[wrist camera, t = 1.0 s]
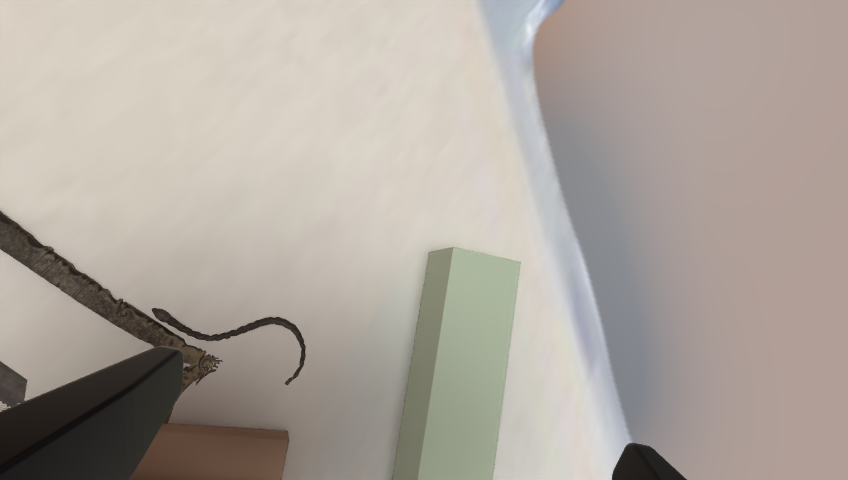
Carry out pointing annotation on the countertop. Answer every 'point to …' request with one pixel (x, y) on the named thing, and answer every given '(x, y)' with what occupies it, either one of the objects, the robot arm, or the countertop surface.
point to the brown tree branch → (111, 312)
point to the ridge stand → (213, 454)
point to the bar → (458, 368)
